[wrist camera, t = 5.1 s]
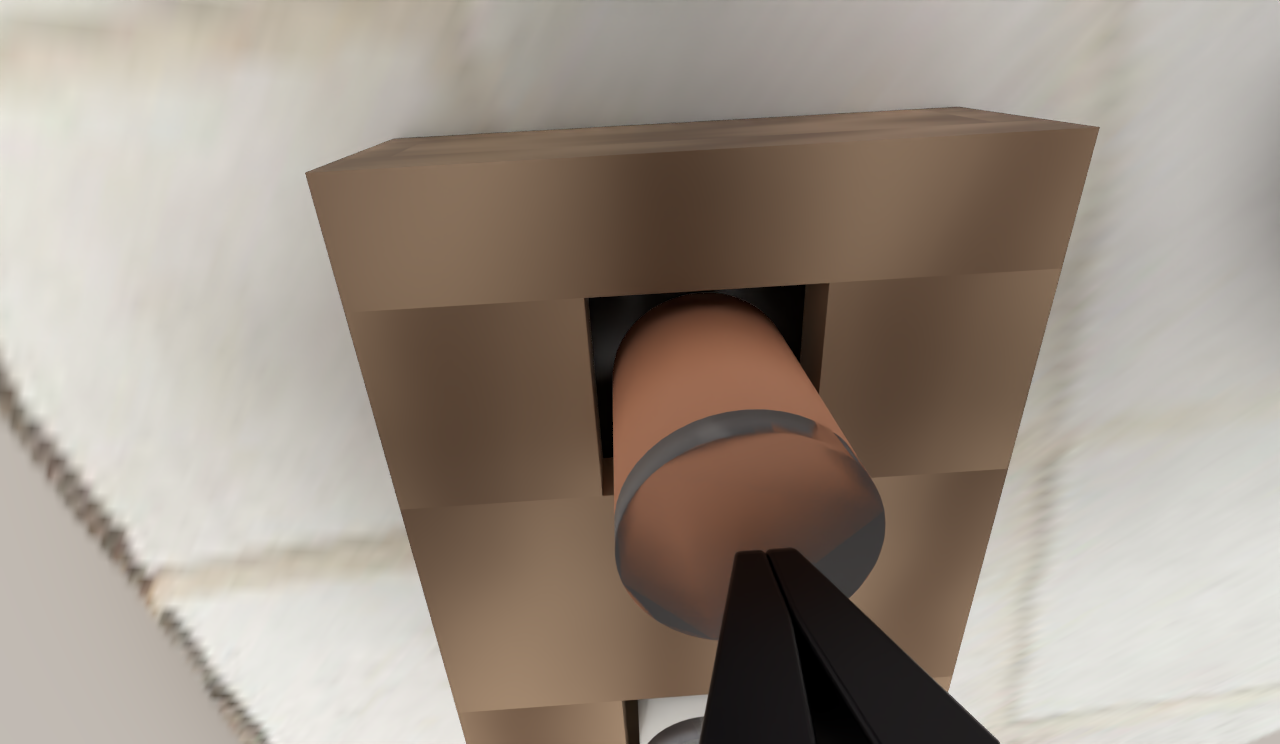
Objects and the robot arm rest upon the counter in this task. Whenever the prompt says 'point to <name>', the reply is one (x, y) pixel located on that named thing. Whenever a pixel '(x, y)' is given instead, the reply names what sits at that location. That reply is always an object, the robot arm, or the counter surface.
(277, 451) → the counter surface
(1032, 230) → the wooden holder block
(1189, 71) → the counter surface
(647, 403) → the terracotta plug
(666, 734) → the plug
